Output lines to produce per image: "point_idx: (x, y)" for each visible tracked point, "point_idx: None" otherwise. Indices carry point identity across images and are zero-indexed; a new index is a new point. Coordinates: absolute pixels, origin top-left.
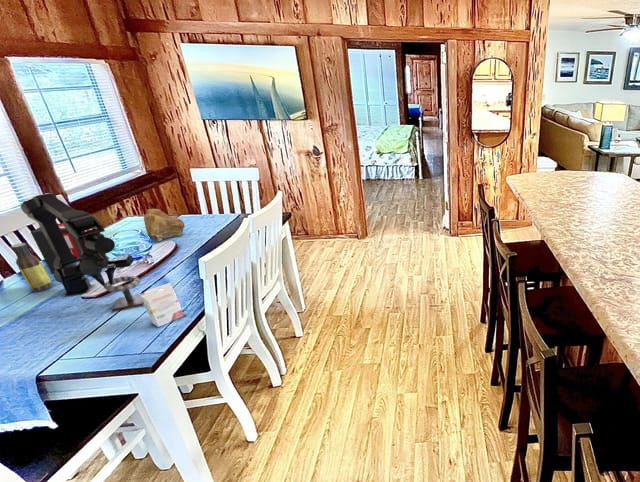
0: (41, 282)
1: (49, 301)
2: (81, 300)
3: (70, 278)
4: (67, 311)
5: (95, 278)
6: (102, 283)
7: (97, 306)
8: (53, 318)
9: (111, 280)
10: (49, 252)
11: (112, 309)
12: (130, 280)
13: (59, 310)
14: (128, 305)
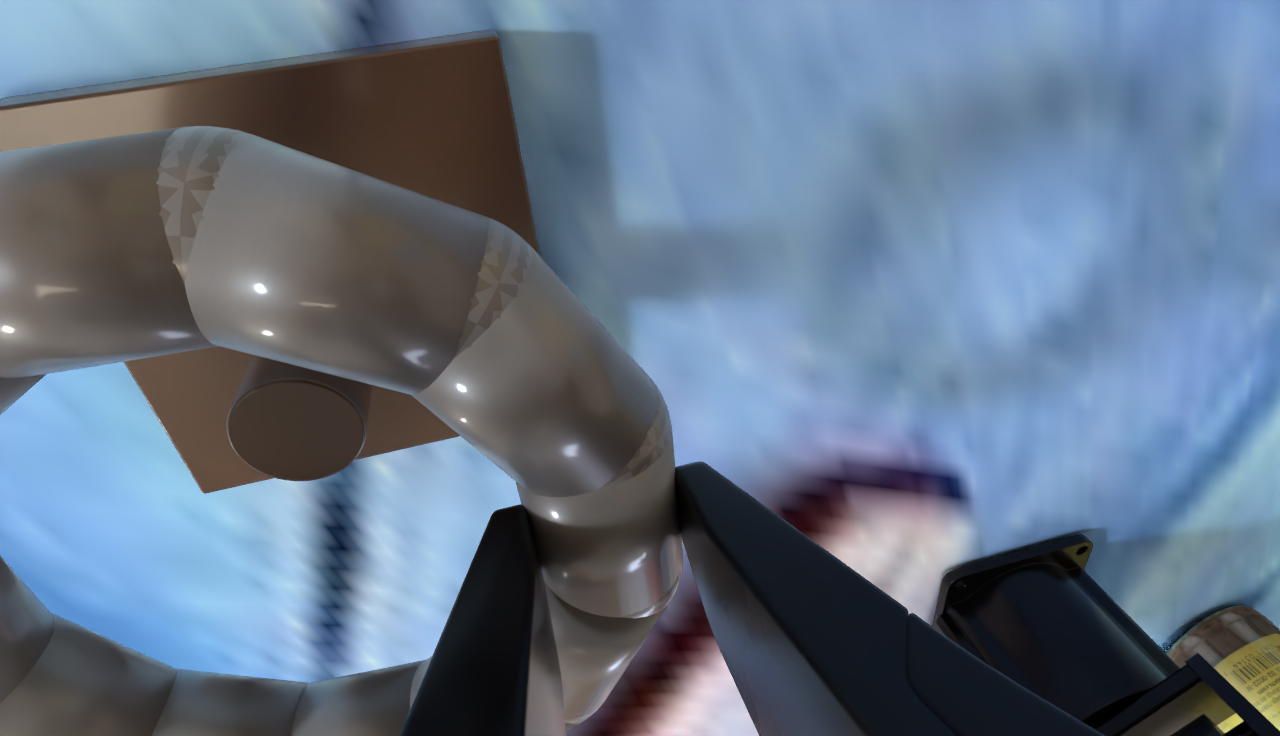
0: (1260, 682)
1: (1185, 465)
2: (963, 443)
3: (1144, 724)
4: (1065, 227)
5: (945, 671)
6: (709, 514)
7: (779, 270)
8: (1189, 78)
9: (455, 625)
10: None
11: (493, 35)
12: (230, 689)
13: (1130, 274)
14: (234, 94)
